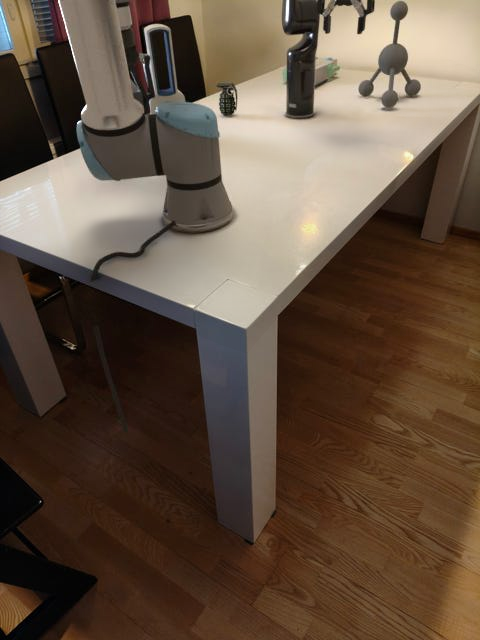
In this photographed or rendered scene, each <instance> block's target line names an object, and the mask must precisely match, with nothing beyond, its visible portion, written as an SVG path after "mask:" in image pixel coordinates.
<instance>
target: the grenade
mask: <svg viewBox="0 0 480 640" xmlns="http://www.w3.org/2000/svg"><path fill="white" fill-rule="evenodd" d="M215 87H217V88H219V89H221V93H219V97H218V101H219V102H218V106H219V108H218V109H219V112H220V114H221V115H222V116H224V117H231V116H233V115H234V113H235V112H236V111H237V108H238V89H237V87H236V85H235V84H234V83H233V82H218V83H217V84H216V86H215ZM232 91H233V92H232ZM234 94H235V96H234Z"/></svg>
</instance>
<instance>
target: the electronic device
mask: <svg viewBox="0 0 480 640" xmlns="http://www.w3.org/2000/svg"><path fill="white" fill-rule="evenodd" d="M143 32H144V39H145V45H146V52H147V53H146V54H148V55H149V56H150V65H149V66H150V71H151V76H152V81H153V86H154V91H155V97H154V98H152V99H150V100H149V105H150V111H151V112H150V114H156V112H155V111H156V108H157V106H158V105H160V104H162V103H168V102H186V97H185V95H184V94H183V93H182V91H180V90H179V89H178V82H177V81H178V80H177V72H176V65H175V64H176V63H175V56H174V48H173V39H172V30H171V28H170V27H169V26H167V25H165V24H161V23H152V24H149V25H147V26H145V27H144V28H143ZM157 32H158V33H159V32H161V33H162V32H163V38H164V46H165V54H166V62H167V71H168V79H169V86H170V87H169V88H166V89H160V88H159V79H158V74H157V72H158V71H157V66H156V65H157V64H156V58H155V51H154V44H153V37H152V34H154V33H157Z"/></svg>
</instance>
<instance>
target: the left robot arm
mask: <svg viewBox="0 0 480 640" xmlns="http://www.w3.org/2000/svg"><path fill="white" fill-rule="evenodd" d="M132 1H133V2H134V1H137V0H58V4H59V8H60V11H61V16H62V18H63V22H64V26H65V30H66V34H67V37H68V41H69V45H70V48H71V52H72V56H73V61H74V64H75V68H76V71H77V75H78V78H79V82H80V85H81V90H82V94H83V97H84V101H85V106H84V107H83V109H82V111H81V113H80V118H81V120H78V122H77V123H76V137H77V142H78V144H79V148H80V149H79V150H80V153H81V155H82V158H83V161H84V163H85V165H86V168H87V169H88V171H89V173H90V174H91V175H92V177H94V178H95V179H96V180H98V181H104V182H106V181H115V182H121V181H122V180H130V179H131V180H132V179H140V178H150V177H151V178H152V177H159V176H165V180H166V190H165V191H166V192H165V196H164V203H163V207H162V218H163V222H164V224H165V226H164V227H162V229H159V231H157V232H156V233H155V234H153V235H152V236H151V237H149V238H148V239H147V240H146V241H144V242H143V243H142V244H141V245H140V248H139V250H138V251H135V252H127V251H115V252H111V253H109V254H106V255H104V256H102V257H101V258H99V259H98V260H97V261H96V263H95V265H94V267H93V269H92V272H91V275H90V278H89V281H90V282H94V281H95V280H96V278H97V276H98V274H99V271H100V269H101V266H102V265H103V264H104V263H105V262H107V261H109V260H112V259H115V258H117V257H118V258H138V257H140V256H143V254H144V253H145V250H146V248H147V247H148V246H150V245H151V244H152V243H153V242H154V241H156V240H157V239H158V238H160V237H161V236H162V235H164V234H165V233H167V232H168V231H169V230H173V231H177V232H180V233H190V234H191V233H192V234H193V233H194V234H195V233H196V234H197V233H205V232H206V233H207V232H210V231H215V230H216V229H220V228H222V227H224V226H226V225H227V224H228V223H230V221H231V220H232V218H233V216H234V212H233V211H234V210H233V204H232V201H231V200H230V197H229V195H228V192H227V190H226V187H225V184H224V182H223V175H222V174H223V173H222V164H221V150H220V139H219V138H220V136H221V135H220V130H219V125H218V118H217V115H216V113H215V111H214V110H213V109H212V108H210V107H209V106H206V105H203V104H199V103H196V102H189V101H185V102H168V103H162V104H160V105H158V106H157V108H156V111H155V112H156V114H150V112H151V111H150V105H149V100H150V99H152V98H154V97H155V91H154V86H153V81H152V76H151V71H150V66H149V65H150V56H149V55H148V53H141V52H140V51H138V49H137V45H136V44H137V43H136V39H135V33H134V29H133V28H132V27H131V26H132V25H133V20H132V13H131V8H130V2H132ZM139 60H140V63H141V64H142V67H143V72H144V77H145V83H146V87H147V91H148V92H147V91H146V89H145V87H144V84H143V82H142V80H141V78H140V76H139V74H138V71H137V68H136V65H137V63H138V61H139ZM130 74H131V77H132V79H133V80H134V84H135V85H136V86H137V87H138V89H139V90H140V91H141V92H142V98H143V104H144V108H143V105H142V104H141V103H140V102H139V101H137V100H136V99H134V98H133V92H132V87H131V82H130V79H131V77H130ZM144 111H145V113H144ZM99 327H100V326H99V325H93V332H94V337H95V341H96V345H97V349H98V353H99V356H100V360H101V363H102V367H103V370H104V373H105V377H106V380H107V383H108V385H109V388H110V392H111V395H112V397H113V401H114V403H115V406H116V410H117V413H118V417H119V420H120V423H121V427H122V430H123V431H122V432H123V433H124V434H126V435H127V434H128V433H129V430H128V427H127V423H126V422H127V421H126V419H125V416H124V412H123V408H122V405H121V402H120V400H119V397H118V393H117V391H116V390H117V389H116V387H115V384H114V381H113V377H112V374H111V370H110V368H109V363H108V361H107V357H106V354H105V350H104V345H103V341H102V337H101V332H100V328H99Z"/></svg>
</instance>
